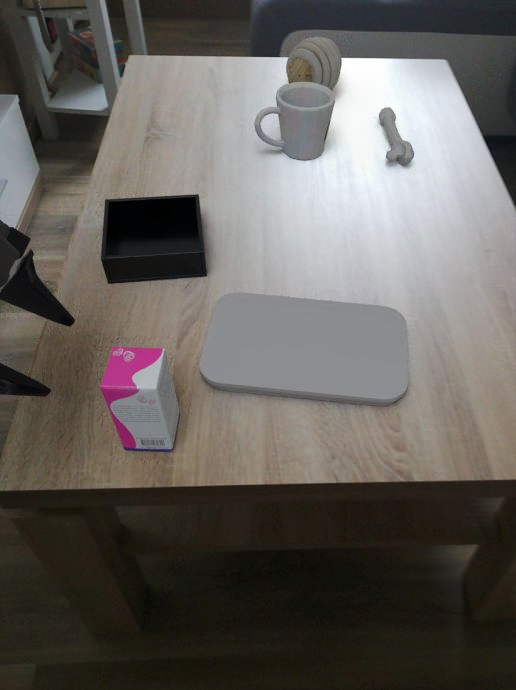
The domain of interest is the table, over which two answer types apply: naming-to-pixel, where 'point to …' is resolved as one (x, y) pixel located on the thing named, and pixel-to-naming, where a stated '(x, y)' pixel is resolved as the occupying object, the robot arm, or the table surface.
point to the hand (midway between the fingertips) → (61, 356)
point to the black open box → (153, 239)
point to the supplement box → (141, 398)
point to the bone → (395, 139)
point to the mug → (300, 119)
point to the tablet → (306, 349)
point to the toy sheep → (315, 62)
